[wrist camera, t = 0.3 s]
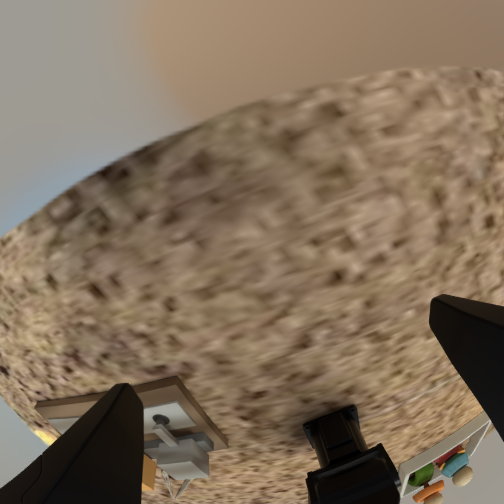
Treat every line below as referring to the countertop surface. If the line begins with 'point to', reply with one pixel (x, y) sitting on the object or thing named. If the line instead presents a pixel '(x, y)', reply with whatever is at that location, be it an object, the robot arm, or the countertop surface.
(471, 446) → the parts tray
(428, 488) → the colourful wooden stacking toy
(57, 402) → the board
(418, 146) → the countertop surface
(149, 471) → the orange block with tab
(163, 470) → the grey tweezers
